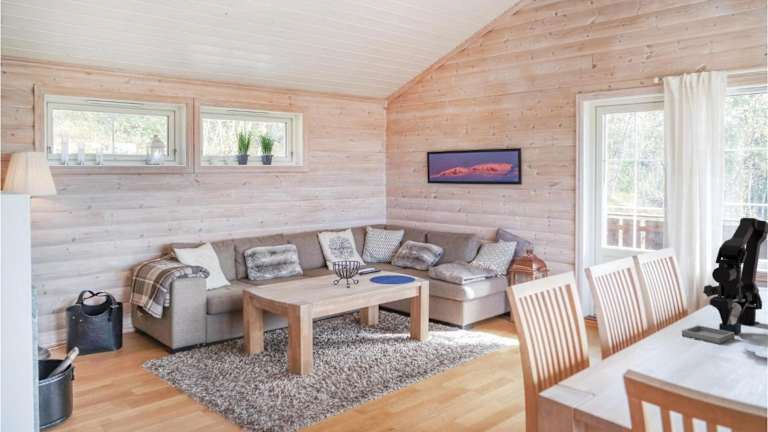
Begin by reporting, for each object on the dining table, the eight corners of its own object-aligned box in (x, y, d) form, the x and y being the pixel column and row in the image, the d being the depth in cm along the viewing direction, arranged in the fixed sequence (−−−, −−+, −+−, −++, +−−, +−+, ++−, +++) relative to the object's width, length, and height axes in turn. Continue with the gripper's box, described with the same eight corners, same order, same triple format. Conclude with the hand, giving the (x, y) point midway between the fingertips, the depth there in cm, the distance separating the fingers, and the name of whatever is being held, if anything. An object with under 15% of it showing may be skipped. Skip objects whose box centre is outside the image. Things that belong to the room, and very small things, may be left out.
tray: (697, 330, 216) (697, 325, 216) (734, 338, 206) (734, 332, 206) (681, 336, 210) (682, 330, 210) (719, 344, 200) (719, 338, 200)
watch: (742, 332, 214) (743, 301, 213) (734, 336, 209) (735, 305, 208) (725, 328, 218) (726, 299, 217) (717, 333, 213) (717, 302, 212)
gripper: (720, 273, 224) (719, 314, 225) (694, 279, 213) (693, 322, 214) (753, 277, 214) (751, 320, 216) (727, 284, 204) (726, 329, 205)
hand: (730, 322), depth 213 cm, fingers closed on watch, 8 cm apart
